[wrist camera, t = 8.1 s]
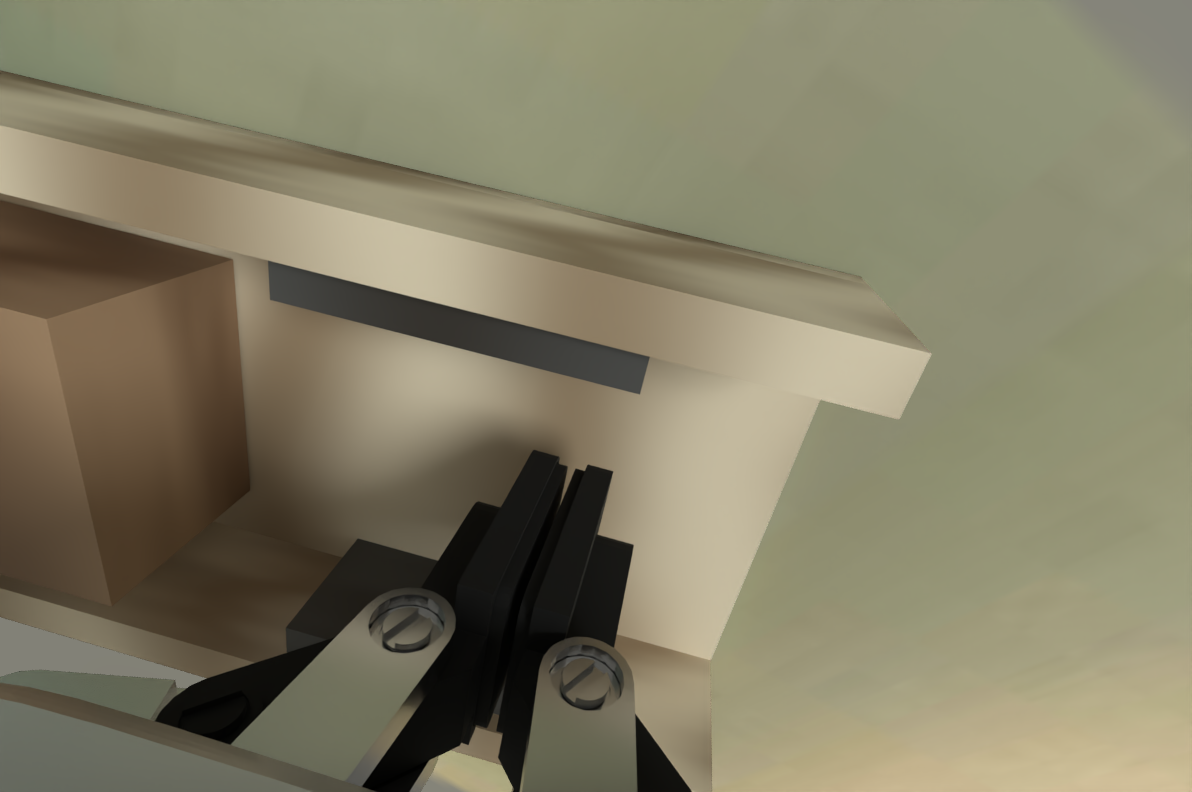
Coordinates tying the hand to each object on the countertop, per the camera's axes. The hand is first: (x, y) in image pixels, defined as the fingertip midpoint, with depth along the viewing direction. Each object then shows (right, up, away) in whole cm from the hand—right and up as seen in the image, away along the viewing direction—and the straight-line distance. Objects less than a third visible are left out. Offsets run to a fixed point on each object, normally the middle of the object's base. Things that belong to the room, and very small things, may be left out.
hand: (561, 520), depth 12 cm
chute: (-6, +3, +2) cm, 7 cm away
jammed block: (-10, +4, +2) cm, 11 cm away
